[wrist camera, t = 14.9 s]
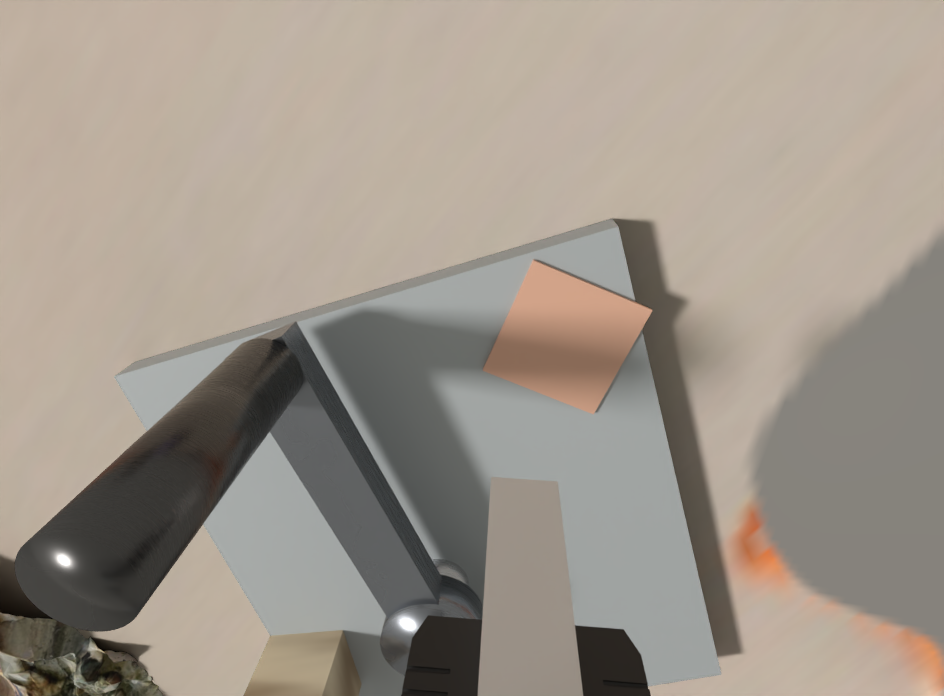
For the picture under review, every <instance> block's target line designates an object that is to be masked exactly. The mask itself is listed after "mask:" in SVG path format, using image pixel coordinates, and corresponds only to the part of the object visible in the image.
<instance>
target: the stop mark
mask: <svg viewBox="0 0 944 696" xmlns="http://www.w3.org/2000/svg"><path fill="white" fill-rule="evenodd" d="M652 311H653V310H652V309H651V308H649V307H646V306H644V305H642V304H639V303H637V302H634V301H632V300H630V299H627V298H625V297H622V296H620V295H618V294H615V293H613V292H610V291H608V290H606V289H603V288H601V287H598V286H596V285H594V284H591V283H589V282H586V281H584V280H582V279H579V278H577V277H575V276H572V275H570V274H567V273H565V272H563V271H560V270H558V269H555V268H553V267H551V266H548V265H546V264H543V263H541V262H539V261H536V260H534V259H533V261H532V263H531V265H530V267H529V270H528V272H527V274H526V276H525V278H524V280H523V283H522V285H521V287H520V289H519V291H518V294H517V296H516V298H515V300H514V302H513V304H512V307H511V309H510V311H509V313H508V315H507V317H506V320H505V322H504V324H503V326H502V328H501V330H500V333H499V335H498V337H497V339H496V341H495V343H494V346H493V348H492V350H491V352H490V354H489V356H488V359H487V361H486V363H485V365H484V367H483V371H485V372H487V373H490V374H492V375H495V376H497V377H500V378H502V379H505V380H508V381H510V382H513V383H515V384H518V385H520V386H523V387H525V388H528V389H530V390H533V391H535V392H538V393H540V394H543V395H545V396H548V397H551V398H553V399H556V400H558V401H561V402H563V403H566V404H568V405H571V406H573V407H576V408H578V409H581V410H583V411H586V412H588V413H591V414H594V413H595V411H596V409H597V408H598V406H599V404H600V402H601V400H602V399H603V397H604V395H605V393H606V392H607V390H608V388H609V386H610V385H611V383H612V381H613V379H614V378H615V376H616V374H617V372H618V371H619V369H620V367H621V365H622V363H623V362H624V360H625V358H626V356H627V355H628V353H629V351H630V349H631V348H632V346H633V344H634V342H635V341H636V339H637V337H638V335H639V334H640V332H641V330H642V328H643V326H644V325H645V323H646V321H647V319H648V318H649V316H650V314H651V312H652Z"/></svg>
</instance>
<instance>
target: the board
mask: <svg viewBox="0 0 944 696" xmlns="http://www.w3.org/2000/svg"><path fill="white" fill-rule="evenodd" d="M533 259H534V260H536V261H539V262H541V263H543V264H546V265H548V266H551V267H553V268H555V269H558V270H560V271H563V272H565V273H567V274H570V275H572V276H575V277H577V278H579V279H582V280H584V281H586V282H589V283H591V284H594V285H596V286H598V287H601V288H603V289H606V290H608V291H610V292H613V293H615V294H618V295H620V296H622V297H625V298H627V299H630V300H632V301H634V302H636V301H635V297H634V293H633V288H632V284H631V280H630V275H629V271H628V267H627V262H626V258H625V253H624V249H623V245H622V240H621V236H620V232H619V227H618V225H617V224H616V223H615V222H614V220H613V219H609V220H606V221H602V222H599V223H596V224H592V225H589V226H586V227H583V228H579V229H576V230H573V231H569V232H566V233H563V234H559V235H556V236H553V237H549V238H546V239H543V240H539V241H536V242H533V243H529V244H526V245H523V246H519V247H516V248H513V249H509V250H506V251H503V252H499V253H496V254H493V255H489V256H486V257H483V258H479V259H476V260H473V261H469V262H466V263H463V264H459V265H456V266H453V267H449V268H446V269H443V270H439V271H436V272H433V273H429V274H426V275H423V276H419V277H416V278H413V279H409V280H406V281H403V282H400V283H396V284H393V285H390V286H386V287H383V288H380V289H376V290H373V291H370V292H366V293H363V294H360V295H356V296H353V297H350V298H346V299H343V300H340V301H336V302H333V303H330V304H326V305H323V306H320V307H316V308H313V309H310V310H306V311H303V312H300V313H296V314H293V315H290V316H286V317H283V318H280V319H276V320H273V321H270V322H266V323H263V324H260V325H256V326H253V327H250V328H246V329H243V330H240V331H236V332H233V333H230V334H226V335H223V336H220V337H217V338H213V339H210V340H207V341H203V342H200V343H197V344H193V345H190V346H187V347H183V348H180V349H177V350H173V351H170V352H167V353H163V354H160V355H157V356H153V357H150V358H147V359H143V360H140V361H137V362H134V363H132V364H131V365H130V366H128V367H127V368H125V369H124V370H123V371H121V372H120V373H118V374H117V375H116V376H114V377H115V379H116V381H117V382H118V384H119V386H120V387H121V389H122V391H123V392H124V394H125V396H126V397H127V399H128V401H129V402H130V404H131V406H132V407H133V409H134V410H135V412H136V414H137V415H138V417H139V419H140V420H141V422H142V424H143V425H144V427H145V429H146V430H147V431H148V430H149V429H150V428H151V427H152V426H153V425H154V424H155V423H157V422H158V421H159V420H160V419H161V418H162V417H163V416H164V415H165V414H166V413H167V412H168V411H170V410H171V409H172V408H173V407H174V406H175V405H176V404H177V403H178V402H179V401H180V400H181V399H183V398H184V397H185V396H186V395H187V394H188V393H189V392H190V391H191V390H192V389H193V388H194V387H196V386H197V385H198V384H199V383H200V382H201V381H202V380H203V379H204V378H205V377H206V376H208V375H209V374H210V373H211V372H212V371H213V370H214V369H215V368H216V367H217V366H218V365H219V364H221V363H222V362H223V361H224V359H225V358H226V357H227V356H228V355H230V354H231V353H232V352H233V351H234V350H235V349H236V348H237V347H238V346H239V345H240V344H242V343H244V342H246V341H248V340H251V339H253V338H256V337H258V336H261V335H263V334H266V333H268V332H270V331H273V330H275V329H278V328H280V327H283V326H285V325H287V324H290V323H292V322H295V321H296V322H297V324H298V325H299V327H300V329H301V331H302V332H303V334H304V336H305V338H306V339H307V341H308V343H309V345H310V346H311V348H312V350H313V352H314V353H315V355H316V357H317V359H318V361H319V362H320V364H321V366H322V368H323V369H324V371H325V373H326V375H327V376H328V378H329V380H330V382H331V383H332V385H333V387H334V389H335V390H336V392H337V394H338V396H339V397H340V399H341V401H342V403H343V404H344V406H345V408H346V410H347V411H348V413H349V415H350V417H351V418H352V420H353V422H354V424H355V425H356V427H357V429H358V431H359V433H360V434H361V436H362V438H363V440H364V441H365V443H366V445H367V447H368V448H369V450H370V452H371V454H372V455H373V457H374V459H375V461H376V462H377V464H378V466H379V468H380V469H381V471H382V473H383V475H384V476H385V478H386V480H387V482H388V483H389V485H390V487H391V489H392V490H393V492H394V494H395V496H396V497H397V499H398V501H399V503H400V505H401V506H402V508H403V510H404V512H405V513H406V515H407V517H408V519H409V520H410V522H411V524H412V526H413V527H414V529H415V531H416V533H417V534H418V536H419V538H420V540H421V541H422V543H423V545H424V547H425V548H426V550H427V552H428V554H429V555H430V557H431V559H444V560H448V561H451V562H454V563H456V564H457V565H459V566H460V567H461V568H462V569H463V570H464V571H465V572H466V574H467V576H468V580H469V587H470V588H471V589H473V590H474V592H475V593H476V594H477V595H478V597H479V598H480V601H481V603H482V606H483V600H484V584H485V567H486V551H487V535H488V518H489V502H490V486H491V477H500V478H514V479H529V480H543V481H558V488H559V496H560V505H561V513H562V521H563V530H564V538H565V547H566V555H567V563H568V572H569V580H570V589H571V597H572V605H573V614H574V622H575V625H577V626H589V627H602V628H614V629H624V631H625V632H626V634H627V635H628V636H629V638H630V639H631V641H632V642H633V644H634V645H635V647H636V648H637V650H638V651H639V653H640V654H641V657H642V661H643V665H644V670H645V674H646V678H647V682H648V686H653V685H659V684H666V683H672V682H678V681H685V680H691V679H697V678H704V677H710V676H716V675H721V671H720V666H719V662H718V658H717V653H716V649H715V645H714V640H713V636H712V632H711V627H710V623H709V619H708V614H707V610H706V606H705V601H704V597H703V592H702V588H701V584H700V579H699V575H698V571H697V566H696V562H695V558H694V553H693V549H692V545H691V540H690V536H689V532H688V527H687V523H686V519H685V514H684V510H683V506H682V501H681V497H680V493H679V488H678V484H677V479H676V475H675V471H674V466H673V462H672V458H671V453H670V449H669V445H668V440H667V436H666V432H665V427H664V423H663V419H662V414H661V410H660V406H659V401H658V397H657V393H656V388H655V384H654V380H653V375H652V371H651V366H650V362H649V358H648V353H647V349H646V345H645V340H644V336H643V332H642V330H641V332H640V334H639V335H638V337H637V339H636V341H635V342H634V344H633V346H632V348H631V349H630V351H629V353H628V355H627V356H626V358H625V360H624V362H623V363H622V365H621V367H620V369H619V371H618V372H617V374H616V376H615V378H614V379H613V381H612V383H611V385H610V386H609V388H608V390H607V392H606V393H605V395H604V397H603V399H602V400H601V402H600V404H599V406H598V408H597V409H596V411H595V413H594V414H591V413H588V412H586V411H583V410H581V409H578V408H576V407H573V406H571V405H568V404H566V403H563V402H561V401H558V400H556V399H553V398H551V397H548V396H545V395H543V394H540V393H538V392H535V391H533V390H530V389H528V388H525V387H523V386H520V385H518V384H515V383H513V382H510V381H508V380H505V379H502V378H500V377H497V376H495V375H492V374H490V373H487V372H485V371H483V367H484V365H485V363H486V361H487V359H488V356H489V354H490V352H491V350H492V348H493V346H494V343H495V341H496V339H497V337H498V335H499V333H500V330H501V328H502V326H503V324H504V322H505V320H506V317H507V315H508V313H509V311H510V309H511V307H512V304H513V302H514V300H515V298H516V296H517V294H518V291H519V289H520V287H521V285H522V283H523V280H524V278H525V276H526V274H527V272H528V270H529V267H530V265H531V263H532V261H533ZM203 525H204V527H205V528H206V530H207V532H208V533H209V535H210V536H211V538H212V540H213V541H214V543H215V545H216V546H217V548H218V550H219V551H220V553H221V555H222V556H223V558H224V560H225V561H226V563H227V565H228V566H229V568H230V570H231V571H232V573H233V575H234V576H235V578H236V580H237V581H238V583H239V585H240V586H241V588H242V590H243V591H244V593H245V594H246V596H247V598H248V599H249V601H250V603H251V604H252V606H253V608H254V609H255V611H256V613H257V614H258V616H259V618H260V619H261V621H262V623H263V624H264V626H265V628H266V629H267V631H268V633H269V634H270V636H272V635H285V634H298V633H311V632H324V631H336V630H343V632H344V634H345V637H346V640H347V643H348V646H349V649H350V652H351V654H352V657H353V660H354V663H355V666H356V669H357V672H358V675H359V677H360V680H361V683H362V684H361V688H360V692H359V696H401V694H402V688H403V683H404V678H405V676H404V675H402V674H400V673H399V672H397V671H396V670H395V669H393V668H392V667H391V666H390V665H389V664H388V662H387V661H386V660H385V658H384V656H383V654H382V652H381V648H380V637H381V633H382V628H383V624H384V620H385V616H386V615H385V613H384V612H383V610H382V608H381V607H380V605H379V604H378V602H377V600H376V599H375V597H374V596H373V594H372V593H371V591H370V589H369V588H368V586H367V585H366V583H365V582H364V580H363V578H362V577H361V575H360V574H359V572H358V570H357V569H356V567H355V566H354V564H353V563H352V561H351V559H350V558H349V556H348V555H347V553H346V551H345V550H344V548H343V547H342V545H341V544H340V542H339V540H338V539H337V537H336V536H335V534H334V532H333V531H332V529H331V528H330V526H329V525H328V523H327V521H326V520H325V518H324V517H323V515H322V514H321V512H320V510H319V509H318V507H317V506H316V504H315V502H314V501H313V499H312V498H311V496H310V495H309V493H308V491H307V490H306V488H305V487H304V485H303V483H302V482H301V480H300V479H299V477H298V476H297V474H296V472H295V471H294V469H293V468H292V466H291V464H290V463H289V461H288V460H287V458H286V457H285V455H284V453H283V452H282V450H281V449H280V447H279V446H278V444H277V442H276V441H275V439H274V438H273V436H272V434H271V433H270V432H269V433H268V435H267V436H266V438H265V439H264V440H263V442H262V443H261V444H260V446H259V447H258V449H257V450H256V451H255V453H254V454H253V456H252V457H251V458H250V460H249V461H248V462H247V464H246V465H245V467H244V468H243V469H242V471H241V472H240V474H239V475H238V476H237V478H236V479H235V481H234V482H233V483H232V485H231V486H230V487H229V489H228V490H227V492H226V493H225V494H224V496H223V497H222V499H221V500H220V501H219V503H218V504H217V505H216V507H215V508H214V510H213V511H212V512H211V514H210V515H209V517H208V518H207V519H206V521H205V522H204V524H203Z"/></svg>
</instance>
